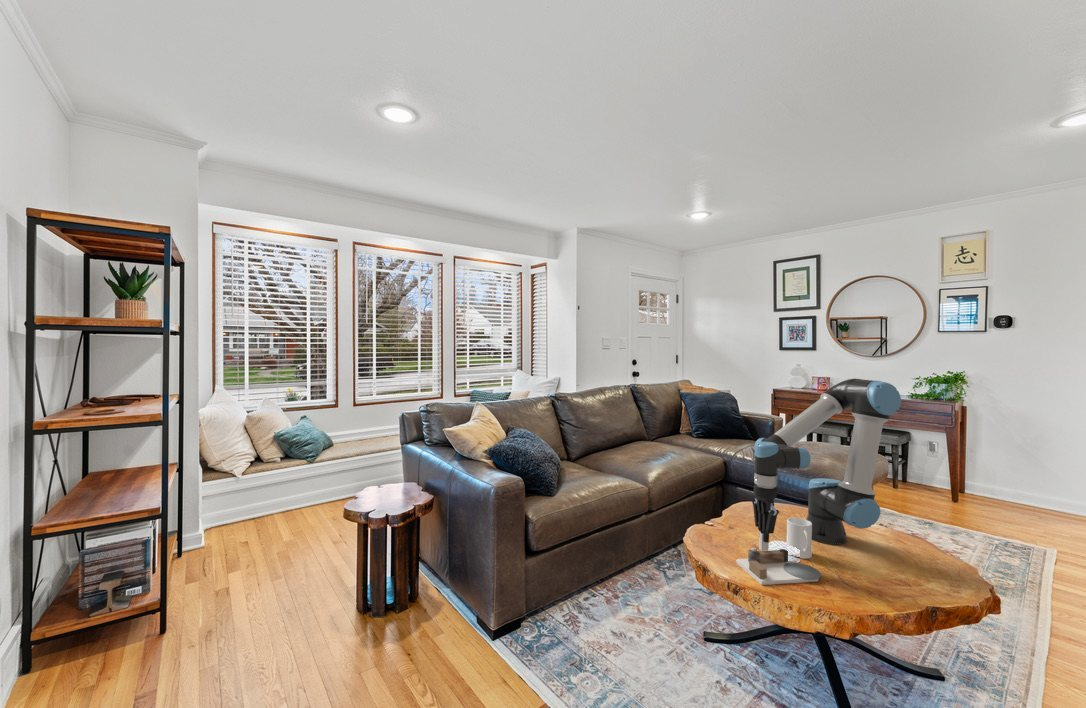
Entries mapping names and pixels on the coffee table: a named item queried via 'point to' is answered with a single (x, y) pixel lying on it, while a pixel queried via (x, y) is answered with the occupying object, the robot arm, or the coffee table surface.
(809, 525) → the mug
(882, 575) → the coffee table surface
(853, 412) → the robot arm
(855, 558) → the coffee table surface
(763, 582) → the stand board
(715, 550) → the coffee table surface
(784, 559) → the leg
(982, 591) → the coffee table surface
